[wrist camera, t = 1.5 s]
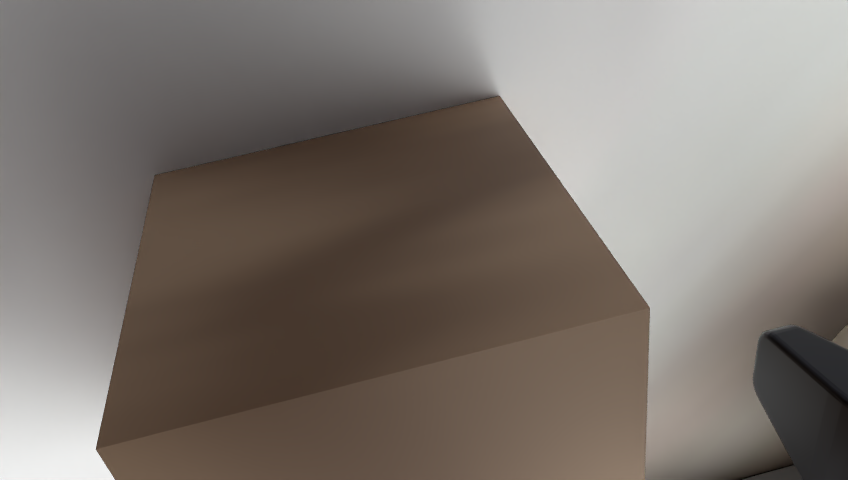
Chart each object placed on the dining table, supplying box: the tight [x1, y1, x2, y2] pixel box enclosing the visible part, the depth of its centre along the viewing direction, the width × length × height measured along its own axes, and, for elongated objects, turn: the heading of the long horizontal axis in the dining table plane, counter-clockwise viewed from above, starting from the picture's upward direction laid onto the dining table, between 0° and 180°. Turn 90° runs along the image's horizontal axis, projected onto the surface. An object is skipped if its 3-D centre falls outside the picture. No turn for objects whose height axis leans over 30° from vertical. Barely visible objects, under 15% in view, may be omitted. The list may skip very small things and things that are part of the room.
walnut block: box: [96, 96, 650, 480], centre depth 10 cm, size 5×5×5 cm
